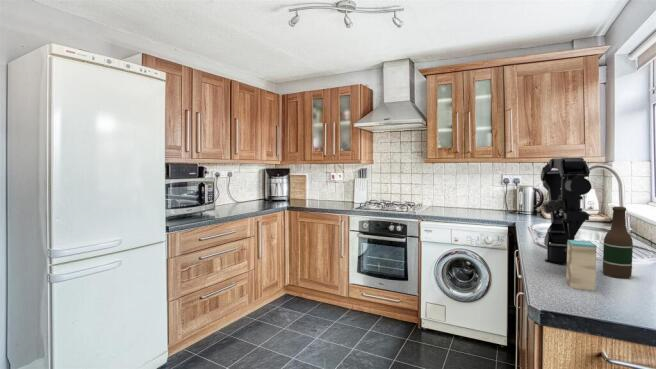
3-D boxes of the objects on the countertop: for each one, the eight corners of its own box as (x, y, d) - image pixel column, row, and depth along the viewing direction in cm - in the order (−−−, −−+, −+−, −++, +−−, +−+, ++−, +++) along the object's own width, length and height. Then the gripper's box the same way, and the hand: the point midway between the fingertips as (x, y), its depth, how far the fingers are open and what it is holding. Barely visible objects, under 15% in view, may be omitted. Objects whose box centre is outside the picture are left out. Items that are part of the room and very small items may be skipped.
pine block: (566, 281, 109) (567, 239, 109) (588, 284, 107) (590, 241, 106) (571, 287, 104) (572, 243, 103) (595, 290, 102) (596, 245, 101)
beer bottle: (621, 280, 111) (623, 208, 110) (596, 273, 119) (599, 206, 117) (637, 277, 113) (640, 207, 112) (612, 271, 121) (615, 205, 119)
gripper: (539, 190, 130) (538, 230, 130) (549, 194, 112) (548, 240, 113) (573, 191, 125) (572, 232, 126) (590, 195, 108) (588, 242, 109)
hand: (569, 236), depth 119 cm, fingers open, 5 cm apart
